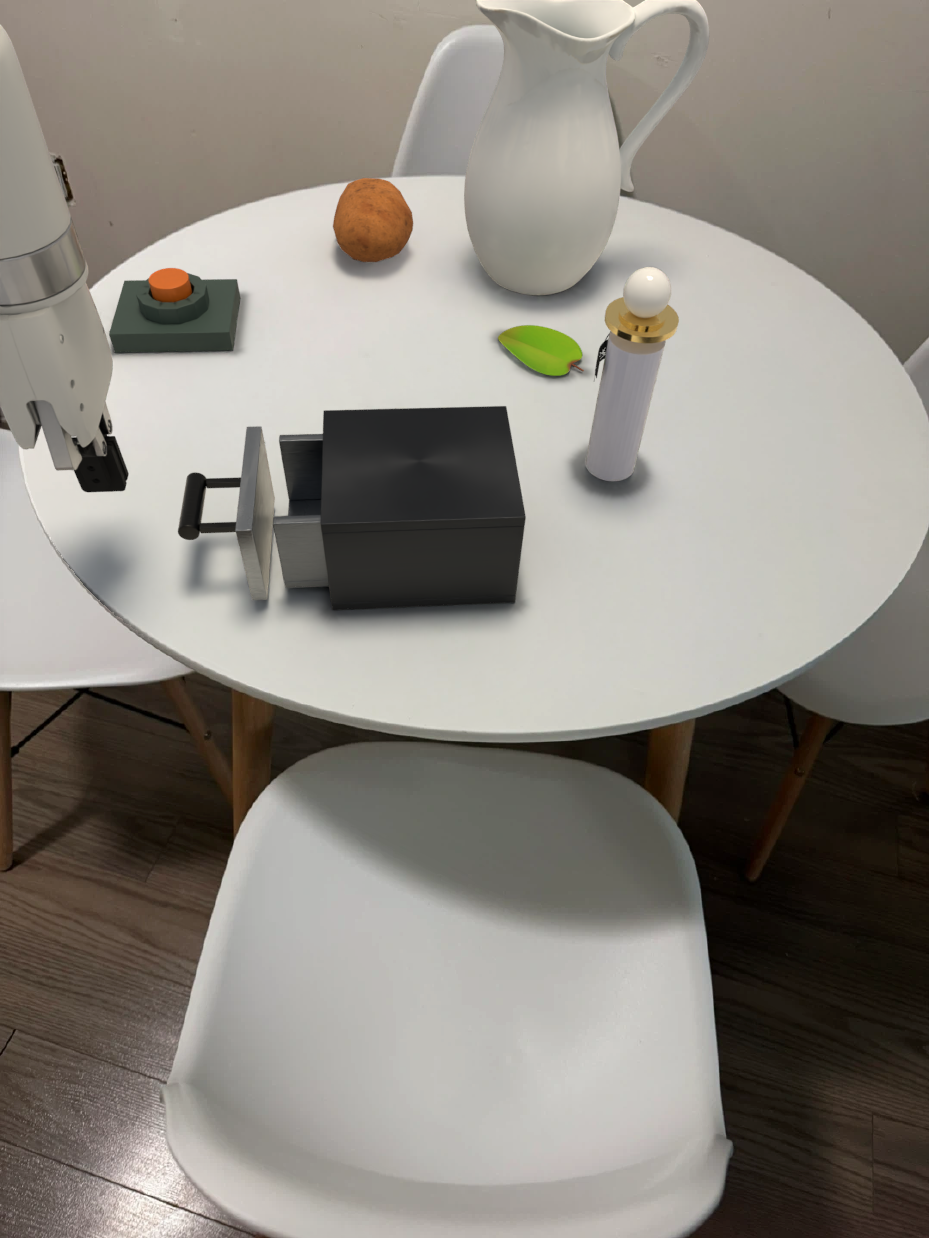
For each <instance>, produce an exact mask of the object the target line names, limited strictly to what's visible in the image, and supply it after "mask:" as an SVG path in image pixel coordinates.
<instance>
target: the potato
mask: <svg viewBox="0 0 929 1238" xmlns="http://www.w3.org/2000/svg"><path fill="white" fill-rule="evenodd" d="M332 229H333V232H334V236H335V240H336V243H337V245H338V246H339V248H340V250H341V251H342V252H344V254H346V255H347V256H348V257H350V258H351V259H352V260H354V261H357V262H358V261H359V262H361V263H378V262H381V261H384V260H385V261H386V260H389V259H391V258H394V257H395V256H396V255H399V254H400V253H401V252H402V250H403V249H404V248H405V247H406V246H407V244H408V242H409V240H410V237H411V235H412V233H413V229H414V218H413V212H412V210H411V208H410V206H409V204H408V203H407V201H406V199H405V197H404V196H403V194H402V192H401V190H400V189H398V188H397V187H396V186H395V184H393V183H392V182H390V181H389V180H386V179H383V178H376V177H375V178H373V177H371V178H370V177H362V178H359V179H356V180H353V181H351V182H349V183H347V185H346V186H345V188H344V189H343V191H342V192H341V194H340V195H339V198H338V202H337V204H336V209H335V212H334V216H333V222H332Z"/></svg>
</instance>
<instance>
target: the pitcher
mask: <svg viewBox="0 0 929 1238" xmlns="http://www.w3.org/2000/svg"><path fill="white" fill-rule="evenodd" d="M475 6H476V7H477V9H478V10H479V12H481V13H482V14H483V16H485V17H486V18H487V19H488V20H489V21H490V22H491V24H492V25H493V26H494V27H495V29H496V30H497V31H498V33H499V35H500V37H501V40H502V43H503V44H502V45H503V59H502V65H501V70H500V72H499V75H498V79H497V80H496V81H497V82H496V84H495V87H494V89H493V91H492V94H491V95H490V96H491V97H490V99H489V101H488V104H487V106H486V108H485V111H484V113H483V115H482V118H481V120H480V122H479V125H478V128H477V131H476V134H475V136H474V139H473V143H472V146H471V149H470V152H469V157H468V159H467V165H466V171H465V177H464V191H463V201H464V203H463V204H464V216H465V222H466V227H467V232H468V237H469V239H470V242H471V245H472V247H473V250H474V252H475V255H476V257H477V259H478V260H479V263H480V265H481V266H482V268H483V269H484V271H485V272H486V274H487V275H488V276H489V278H491V280H492V281H493V282H494V283H496V284H497V285H498V286H500V287H501V288H504V289H506V290H508V291H510V292H515V293H518V294H522V295H528V296H546V295H554V294H557V293H558V294H559V293H561V292H563V291H566V290H568V289H570V288H572V287H574V286H575V285H576V284H578V283H579V282H580V281H581V280H582V279H583V277H585V276H586V274H588V272H589V271H590V270H592V267H594V265H595V263H596V262H597V261H598V260H599V258H600V257H601V255H602V254H603V252H604V250H605V248H606V247H607V245H608V242H609V239H610V238H611V236H612V232H613V229H614V226H615V222H616V219H617V214H618V211H619V204H620V198H621V190H622V191H625V192H629V193H631V192H634V191H635V186H634V183H633V181H632V177H631V167H632V163H633V161H634V158H635V156H636V155H637V153H638V151H639V150H640V148H641V147H642V146H643V145H644V143H645V142H646V140H647V139H648V138H649V137H650V136H651V134H652V133H653V132H654V130H655V129H656V128H657V126H658V125H659V124H660V123H661V122H662V121H663V119H664V118H665V117H667V114H668V113H669V112H670V111H671V110H672V109H673V107H674V106H675V105H676V104H677V102H679V100H680V98H681V97H683V95H684V93H686V91H687V89H688V88H689V87H690V86H691V84H692V83H693V81H694V80H695V78H696V77H697V76H698V74H699V72H700V70H701V68H702V65H703V63H704V61H705V58H706V55H707V52H708V48H709V45H710V24H709V20H708V16H707V12H705V9H704V8H703V6H702V5H701V4H700V2H699V1H698V0H643V1H641V2H639V3H638V4H637V5H635V6H632V5H631V4H629V3H627V2H626V1H624V0H475ZM666 15H680V16H683V17H684V18H685V19H686V20H687V22H688V24H689V38H688V44H687V47H686V51H685V53H684V56H683V59H682V61H681V63H680V65H679V67H678V69H677V71H676V72H675V74H674V76H673V77H672V79H671V81H670V82H669V83H668V85H667V86H666V87H665V89H664V90H663V91H662V93H661V94H660V96H659V97H658V98H657V100H656V101H655V102H654V103H653V104H652V106H651V107H650V108H649V110H648V111H647V112H646V113H645V115H644V116H643V117H642V118H641V120H640V121H639V122H638V123H637V125H635V127H634V129H633V130H632V131H631V132H630V133H629V134H628V136H627V137H626V138H625V140H624V141H623V143H622V144H621V146H620V143H619V137H618V136H619V135H618V131H617V125H616V121H615V117H614V113H613V108H612V103H611V99H610V94H609V89H608V83H607V82H608V81H607V64H608V58H609V57H610V58H611V59H612V60H614V61H617V62H620V61H621V60H622V58H623V56H624V52H625V48H626V46H627V44H628V42H629V41H630V39H631V38H632V37H633V36H634V35H635V34H636V33H637V32H638V31H639V30H640V29H642V28H643V27H644V26H646V25H647V24H649V23H650V22H652V21H654V20H656V19H658V18H660V17H663V16H666Z"/></svg>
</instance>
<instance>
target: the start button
mask: <svg viewBox="0 0 929 1238" xmlns="http://www.w3.org/2000/svg"><path fill="white" fill-rule="evenodd" d="M187 273H188V272H187V271H185V270H184V269H181V268H178V267H165V268H160V269H158V270H156V271H154V272H152V273H151V274H150V275H149V277H148V278H149V285H150V289H151V292H152V296H153V298H154V299H155V300H157V301H160V302H177V301H180V300H183V299H186V298H187V297H189V296H190V295H191V294H192V289H191V284H190V280H189V276H188V274H187Z"/></svg>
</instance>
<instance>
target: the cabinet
mask: <svg viewBox="0 0 929 1238" xmlns="http://www.w3.org/2000/svg"><path fill="white" fill-rule="evenodd" d="M322 417H323V419H322V434H323V450H322V487H321V532H322V539H323V546H324V554H325V561H326V569H327V576H328V584H329V586H328V590H329V597H330V605H331V611H346V610H370V609H371V610H373V609H394V608H395V609H396V608H397V609H398V608H419V607H420V608H421V607H439V606H440V607H441V606H464V605H466V606H467V605H490V604H512V603H513V604H514V603H516V598H517V590H518V581H519V573H520V566H521V559H522V549H523V541H524V535H525V533H524V532H525V525H526V519H527V516H526V510H525V504H524V499H523V493H522V488H521V483H520V478H519V477H520V476H519V471H518V466H517V465H518V464H517V459H516V454H515V448H514V442H513V436H512V431H511V425H510V419H509V415H508V409H507V406H506V405H494V406H493V405H491V406H451V407H449V406H448V407H446V406H445V407H417V408H416V407H411V408H409V407H407V408H370V409H365V408H364V409H329V410H323V414H322Z"/></svg>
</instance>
